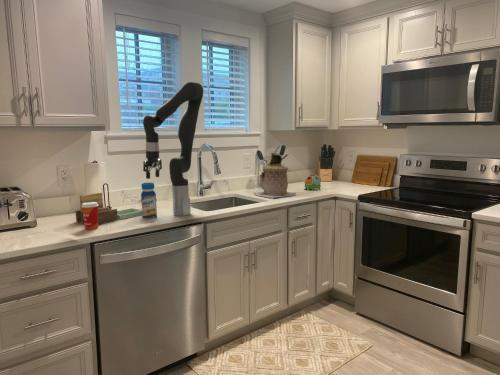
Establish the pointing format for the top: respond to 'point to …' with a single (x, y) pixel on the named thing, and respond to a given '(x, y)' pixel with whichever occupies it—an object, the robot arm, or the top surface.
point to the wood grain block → (92, 199)
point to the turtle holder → (312, 182)
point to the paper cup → (90, 215)
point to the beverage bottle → (148, 201)
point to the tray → (129, 213)
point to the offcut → (102, 209)
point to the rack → (99, 216)
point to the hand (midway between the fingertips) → (152, 177)
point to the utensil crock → (274, 179)
